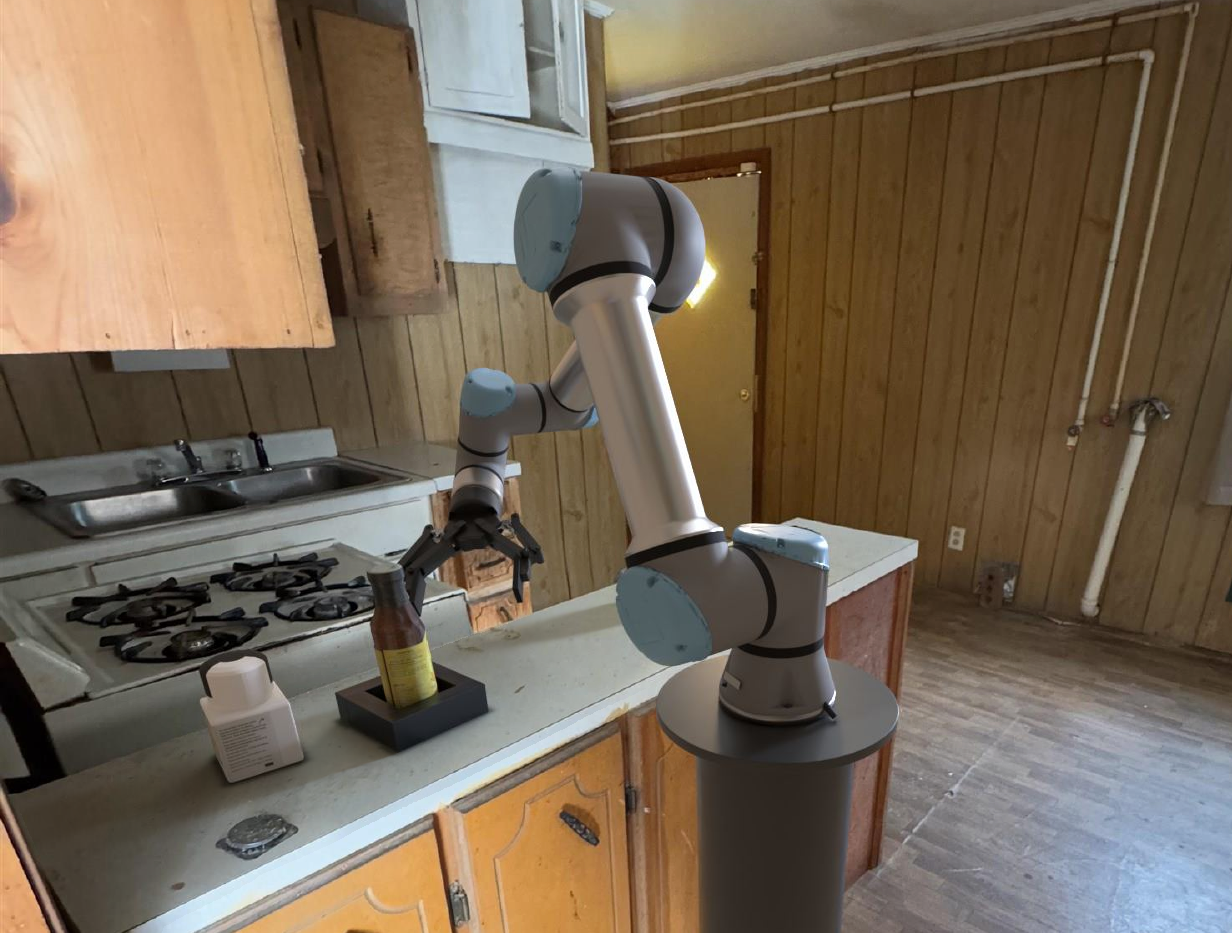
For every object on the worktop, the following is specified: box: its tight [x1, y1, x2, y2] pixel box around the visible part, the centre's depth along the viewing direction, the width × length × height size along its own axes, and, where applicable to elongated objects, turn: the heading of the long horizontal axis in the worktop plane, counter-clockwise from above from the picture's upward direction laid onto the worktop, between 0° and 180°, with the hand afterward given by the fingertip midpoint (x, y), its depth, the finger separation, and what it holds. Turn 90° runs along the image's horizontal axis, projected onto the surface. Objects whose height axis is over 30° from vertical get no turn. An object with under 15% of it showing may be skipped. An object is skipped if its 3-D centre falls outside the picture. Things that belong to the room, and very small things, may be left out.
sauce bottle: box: [366, 562, 438, 709], centre depth 96 cm, size 7×6×20 cm
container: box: [198, 649, 305, 784], centre depth 88 cm, size 8×8×13 cm
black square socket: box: [334, 661, 489, 753], centre depth 99 cm, size 13×13×4 cm
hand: (466, 603), depth 103 cm, fingers open, 13 cm apart
